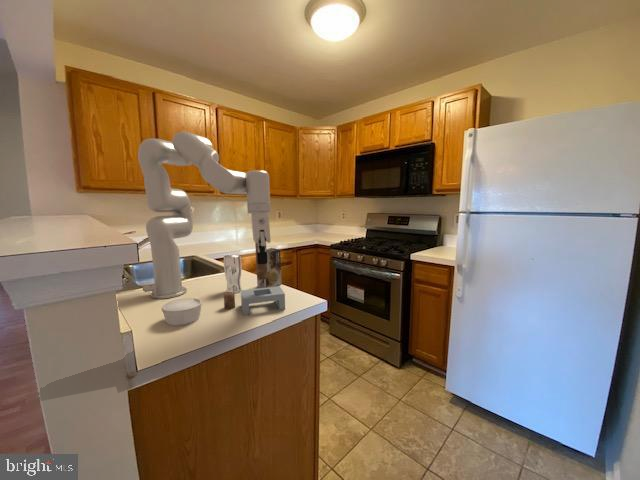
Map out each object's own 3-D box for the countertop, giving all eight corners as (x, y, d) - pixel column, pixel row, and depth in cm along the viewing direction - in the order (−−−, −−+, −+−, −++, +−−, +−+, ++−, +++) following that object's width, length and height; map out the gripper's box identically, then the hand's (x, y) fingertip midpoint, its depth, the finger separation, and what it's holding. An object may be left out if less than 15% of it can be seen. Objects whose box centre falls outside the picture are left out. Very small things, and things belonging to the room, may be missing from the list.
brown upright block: (224, 310, 92) (223, 296, 91) (224, 306, 96) (223, 292, 95) (235, 308, 93) (234, 294, 93) (235, 304, 97) (234, 291, 96)
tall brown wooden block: (257, 280, 90) (255, 236, 88) (256, 277, 94) (254, 235, 92) (268, 279, 92) (266, 235, 90) (266, 276, 95) (265, 234, 93)
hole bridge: (243, 315, 88) (242, 298, 87) (241, 305, 96) (240, 290, 95) (285, 309, 92) (284, 293, 92) (280, 300, 101) (279, 286, 100)
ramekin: (208, 319, 85) (207, 303, 84) (168, 331, 77) (167, 314, 76) (195, 309, 93) (194, 295, 92) (159, 319, 85) (157, 303, 84)
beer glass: (224, 294, 108) (222, 257, 106) (226, 289, 114) (224, 254, 112) (242, 293, 109) (240, 257, 107) (243, 287, 116) (241, 253, 114)
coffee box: (272, 282, 124) (271, 247, 122) (282, 284, 120) (281, 249, 118) (256, 286, 117) (255, 250, 115) (266, 289, 113) (264, 252, 111)
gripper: (274, 208, 83) (276, 266, 85) (266, 208, 98) (268, 257, 101) (249, 209, 81) (252, 269, 83) (245, 208, 96) (248, 259, 99)
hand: (261, 262), depth 92 cm, fingers closed on tall brown wooden block, 3 cm apart
